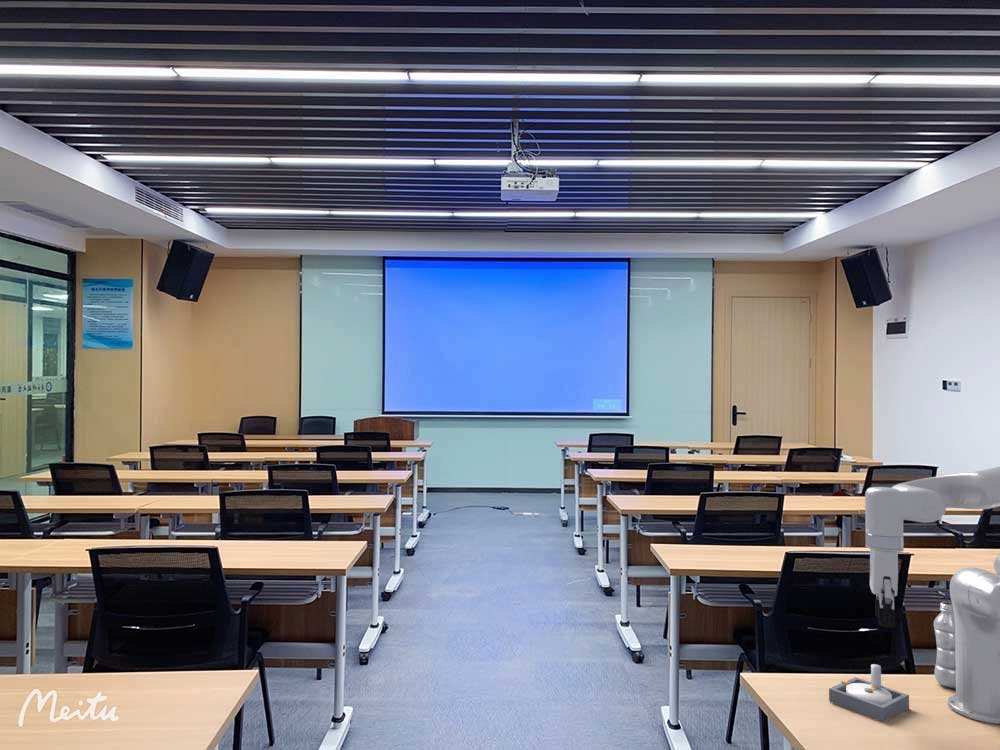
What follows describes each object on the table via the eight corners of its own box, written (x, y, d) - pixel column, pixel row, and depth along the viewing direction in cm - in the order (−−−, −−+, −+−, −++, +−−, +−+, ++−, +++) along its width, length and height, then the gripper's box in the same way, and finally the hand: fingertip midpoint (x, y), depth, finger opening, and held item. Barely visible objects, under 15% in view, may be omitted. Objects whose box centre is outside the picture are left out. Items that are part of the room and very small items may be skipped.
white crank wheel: (879, 711, 148) (879, 680, 148) (838, 696, 155) (838, 666, 156) (899, 701, 153) (899, 671, 153) (858, 687, 161) (858, 658, 161)
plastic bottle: (972, 693, 162) (971, 608, 162) (941, 690, 163) (939, 606, 164) (959, 682, 168) (958, 601, 169) (929, 679, 169) (928, 599, 170)
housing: (855, 689, 162) (855, 675, 163) (909, 708, 153) (908, 692, 153) (829, 701, 155) (829, 686, 156) (883, 722, 146) (883, 705, 146)
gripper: (862, 534, 163) (863, 609, 162) (868, 547, 147) (869, 631, 146) (898, 537, 160) (899, 614, 159) (908, 551, 144) (909, 636, 143)
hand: (885, 621), depth 153 cm, fingers open, 6 cm apart
